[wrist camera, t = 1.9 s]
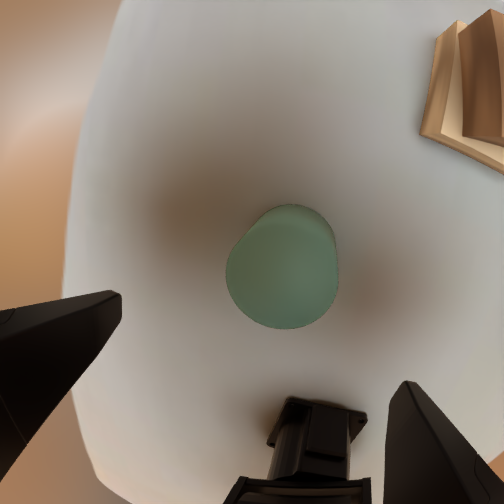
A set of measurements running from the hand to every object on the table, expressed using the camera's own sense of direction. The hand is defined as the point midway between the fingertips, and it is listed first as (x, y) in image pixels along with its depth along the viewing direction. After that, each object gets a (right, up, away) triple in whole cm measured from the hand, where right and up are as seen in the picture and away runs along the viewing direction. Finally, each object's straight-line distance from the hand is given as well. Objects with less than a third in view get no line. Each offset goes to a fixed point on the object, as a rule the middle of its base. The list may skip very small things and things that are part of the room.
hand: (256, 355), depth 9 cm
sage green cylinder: (+2, +3, +9) cm, 9 cm away
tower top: (+11, +10, 0) cm, 15 cm away
